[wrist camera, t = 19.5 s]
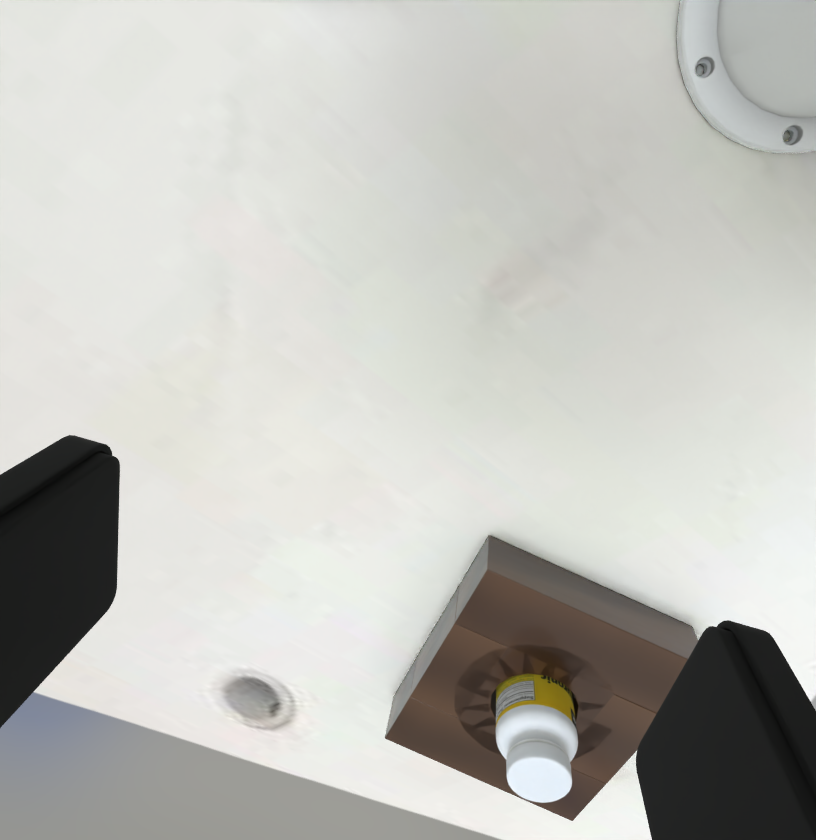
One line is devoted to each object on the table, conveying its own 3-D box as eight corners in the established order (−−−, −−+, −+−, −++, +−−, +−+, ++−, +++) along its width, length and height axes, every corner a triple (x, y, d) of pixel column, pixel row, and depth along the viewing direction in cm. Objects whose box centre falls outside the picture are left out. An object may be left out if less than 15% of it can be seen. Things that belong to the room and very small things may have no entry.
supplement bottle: (580, 675, 45) (599, 799, 36) (517, 696, 47) (520, 820, 38) (546, 624, 44) (557, 740, 35) (483, 648, 45) (478, 764, 36)
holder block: (488, 534, 41) (487, 569, 38) (692, 626, 42) (710, 669, 38) (393, 696, 49) (384, 738, 45) (567, 773, 49) (572, 821, 45)
